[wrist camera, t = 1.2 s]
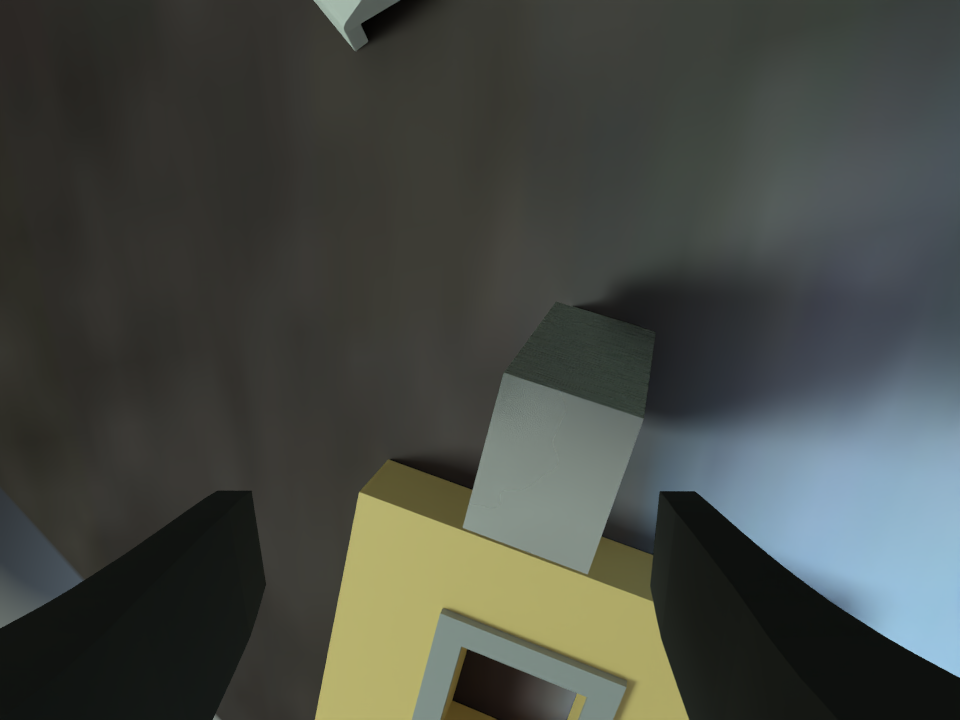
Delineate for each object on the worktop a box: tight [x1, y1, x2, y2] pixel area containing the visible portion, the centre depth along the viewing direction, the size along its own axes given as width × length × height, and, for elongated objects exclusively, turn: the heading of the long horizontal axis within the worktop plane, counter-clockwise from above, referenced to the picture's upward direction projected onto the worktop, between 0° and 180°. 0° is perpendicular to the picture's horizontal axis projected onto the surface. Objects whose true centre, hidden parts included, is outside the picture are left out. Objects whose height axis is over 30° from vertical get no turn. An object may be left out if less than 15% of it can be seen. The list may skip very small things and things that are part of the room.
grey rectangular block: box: [463, 302, 656, 574], centre depth 19 cm, size 3×4×8 cm
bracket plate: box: [315, 460, 689, 720], centre depth 26 cm, size 14×14×3 cm
